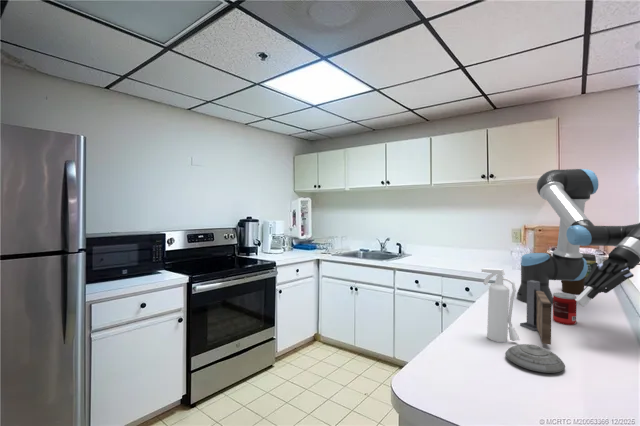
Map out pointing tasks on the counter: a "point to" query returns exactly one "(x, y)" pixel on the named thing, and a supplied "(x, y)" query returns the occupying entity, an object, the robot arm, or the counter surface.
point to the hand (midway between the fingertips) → (579, 303)
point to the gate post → (531, 305)
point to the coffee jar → (589, 262)
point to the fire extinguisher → (499, 307)
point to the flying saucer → (535, 358)
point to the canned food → (564, 308)
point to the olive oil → (573, 286)
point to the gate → (544, 317)
